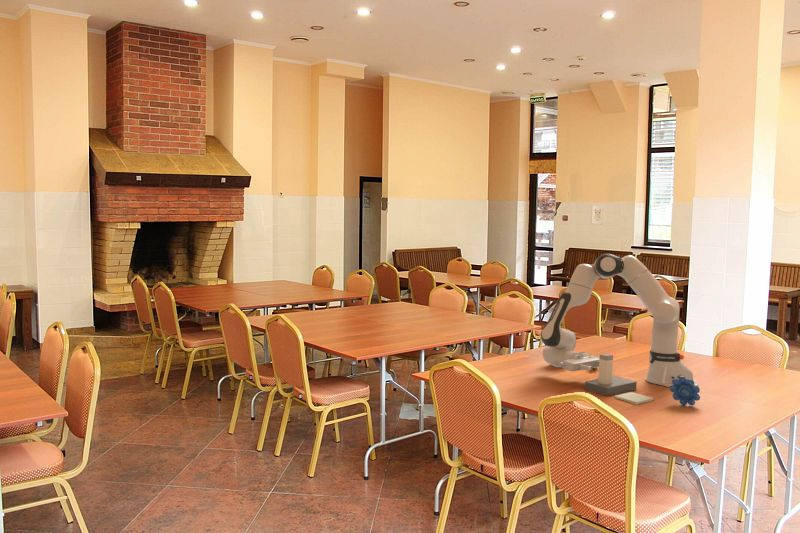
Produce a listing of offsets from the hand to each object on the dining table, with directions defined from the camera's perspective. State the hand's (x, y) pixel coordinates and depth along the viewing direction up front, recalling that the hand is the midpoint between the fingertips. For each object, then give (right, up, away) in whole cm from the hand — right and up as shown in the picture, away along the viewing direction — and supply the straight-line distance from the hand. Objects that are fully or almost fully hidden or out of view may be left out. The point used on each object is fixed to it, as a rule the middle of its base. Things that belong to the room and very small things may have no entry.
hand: (596, 367), depth 300 cm
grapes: (+29, -12, -23) cm, 39 cm away
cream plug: (+2, -10, -3) cm, 11 cm away
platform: (+10, -7, +36) cm, 38 cm away
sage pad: (+11, -11, -15) cm, 22 cm away
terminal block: (+6, -10, -1) cm, 11 cm away
